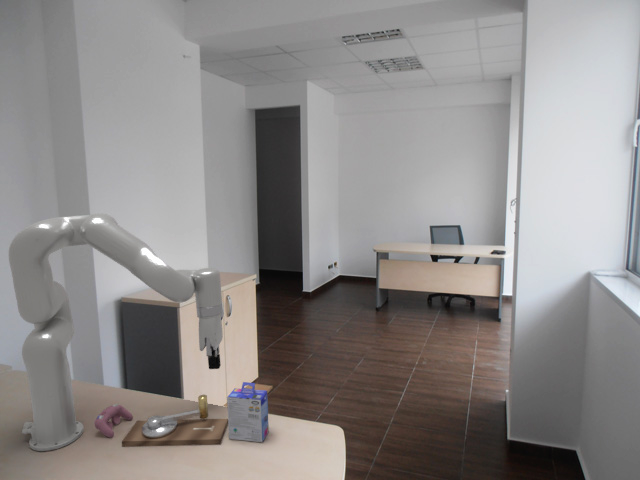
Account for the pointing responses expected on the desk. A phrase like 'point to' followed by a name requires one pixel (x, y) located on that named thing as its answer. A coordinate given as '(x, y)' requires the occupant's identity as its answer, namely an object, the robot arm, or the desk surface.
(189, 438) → the stand plate
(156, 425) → the silver lever with knob
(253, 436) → the ink cartridge box
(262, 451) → the desk surface
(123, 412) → the video game controller
